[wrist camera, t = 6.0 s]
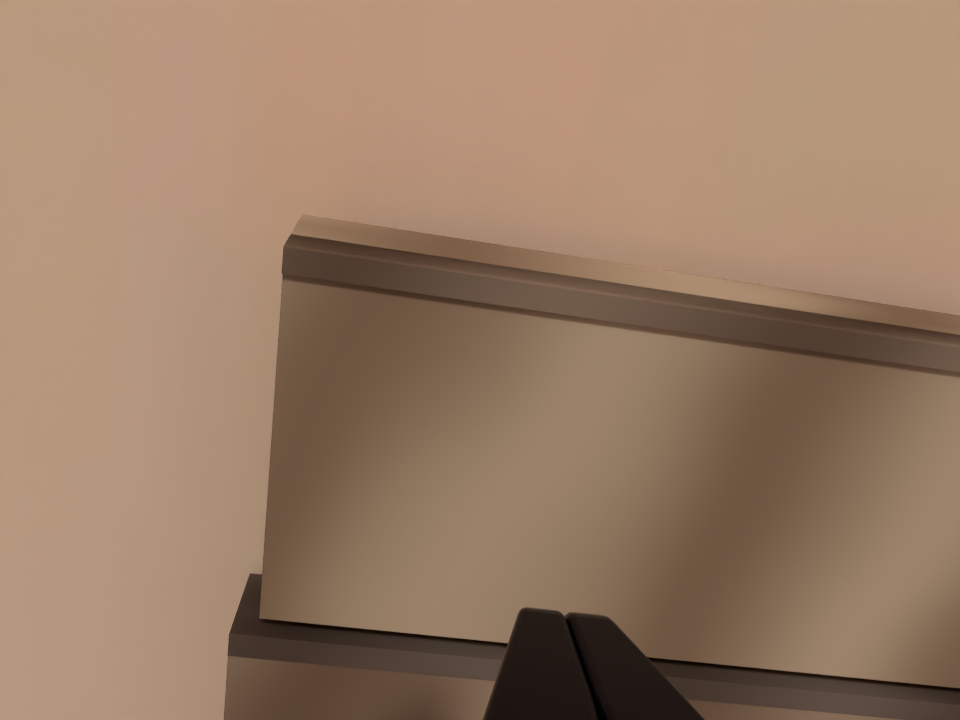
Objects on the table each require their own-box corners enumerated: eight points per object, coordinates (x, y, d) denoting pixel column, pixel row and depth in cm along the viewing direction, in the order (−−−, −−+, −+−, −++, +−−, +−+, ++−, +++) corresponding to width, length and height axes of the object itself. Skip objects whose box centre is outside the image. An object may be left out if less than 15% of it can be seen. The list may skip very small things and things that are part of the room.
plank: (1256, 361, 14) (1345, 405, 13) (1068, 647, 17) (1123, 708, 16) (302, 214, 13) (283, 246, 11) (275, 562, 16) (258, 622, 14)
